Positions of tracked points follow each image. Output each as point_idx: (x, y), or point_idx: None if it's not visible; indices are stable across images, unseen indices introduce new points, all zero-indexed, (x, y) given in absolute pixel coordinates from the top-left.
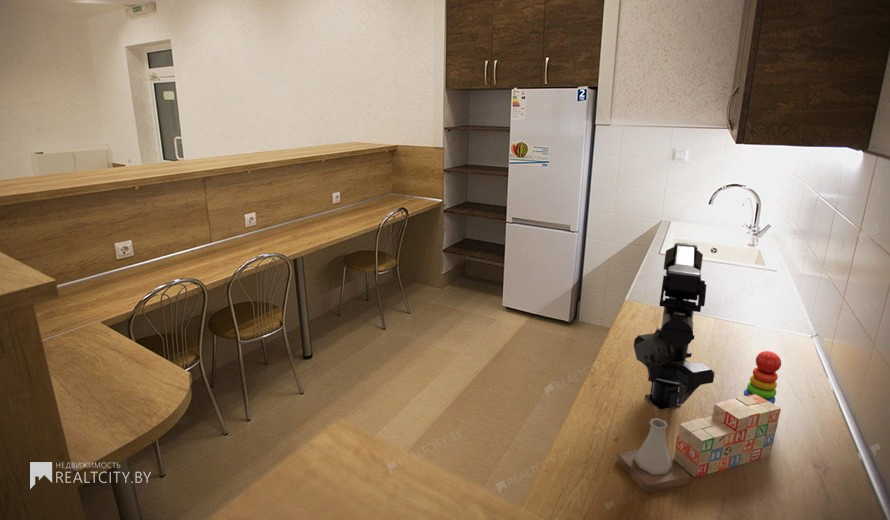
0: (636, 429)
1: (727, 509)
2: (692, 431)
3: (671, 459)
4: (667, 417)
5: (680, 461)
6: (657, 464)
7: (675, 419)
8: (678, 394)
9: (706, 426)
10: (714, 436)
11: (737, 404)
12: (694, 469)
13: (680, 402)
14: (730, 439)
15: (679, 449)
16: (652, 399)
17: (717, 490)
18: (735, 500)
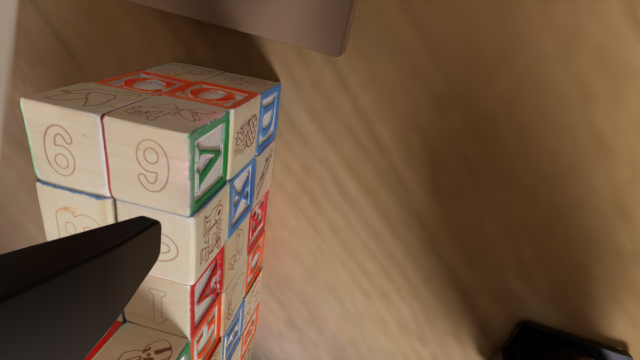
0: (512, 122)
1: (28, 15)
2: (102, 128)
3: (236, 25)
4: (471, 297)
5: (241, 78)
6: None
7: (442, 306)
8: (63, 266)
9: None
10: (42, 190)
11: None
12: (165, 67)
13: (120, 226)
14: None
15: (234, 90)
16: (586, 352)
17: (104, 72)
18: (56, 81)
